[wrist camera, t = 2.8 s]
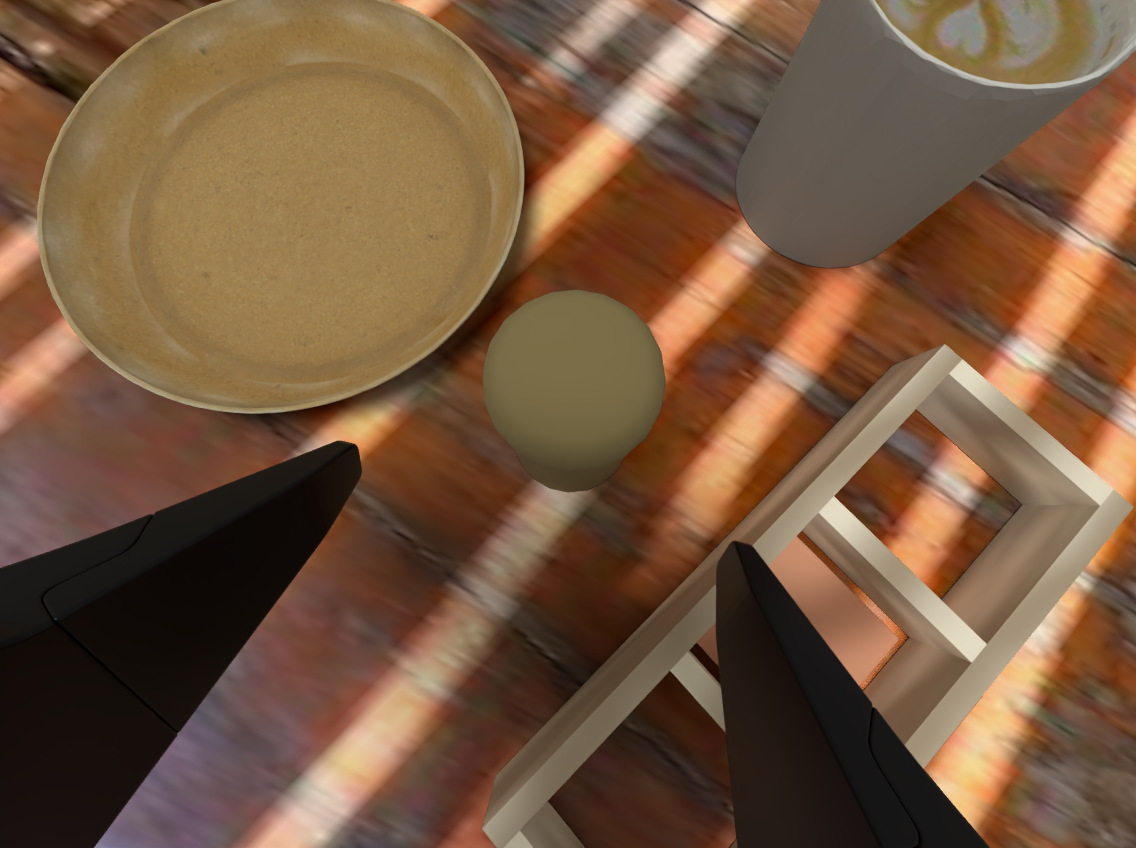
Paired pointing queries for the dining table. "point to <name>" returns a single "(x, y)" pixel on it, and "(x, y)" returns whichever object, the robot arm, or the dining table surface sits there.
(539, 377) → the olive chess pawn
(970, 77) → the coffee mug
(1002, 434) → the rack
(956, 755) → the dining table surface
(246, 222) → the plant saucer
